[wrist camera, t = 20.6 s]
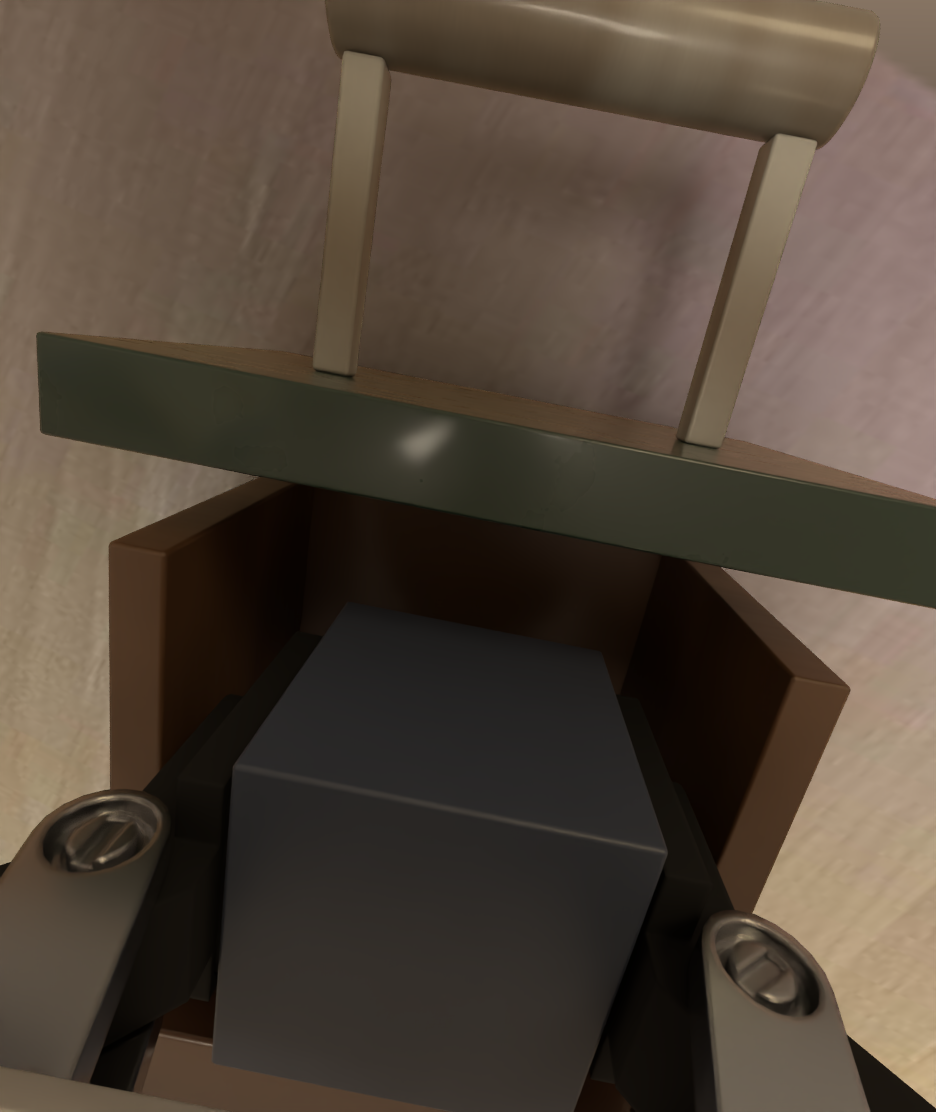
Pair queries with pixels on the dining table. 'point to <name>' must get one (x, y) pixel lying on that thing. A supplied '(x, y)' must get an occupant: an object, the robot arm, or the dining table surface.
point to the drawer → (515, 437)
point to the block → (434, 868)
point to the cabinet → (273, 1102)
